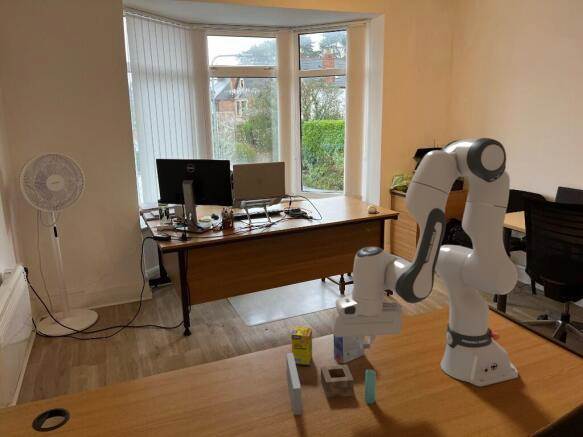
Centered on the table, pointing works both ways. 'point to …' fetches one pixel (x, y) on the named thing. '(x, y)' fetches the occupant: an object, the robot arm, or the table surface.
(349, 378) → the block
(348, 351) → the ink cartridge box
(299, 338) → the supplement box
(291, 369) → the wall
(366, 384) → the dowel
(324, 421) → the table surface
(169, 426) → the table surface
